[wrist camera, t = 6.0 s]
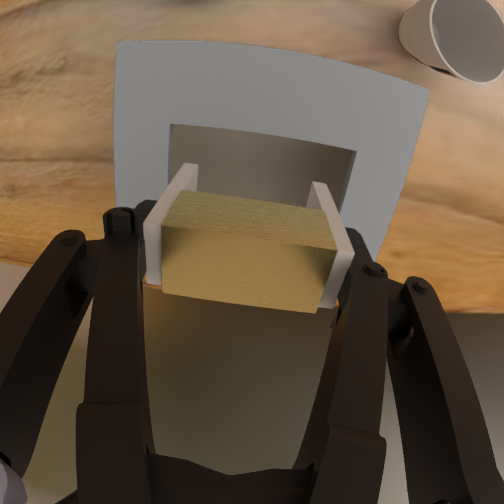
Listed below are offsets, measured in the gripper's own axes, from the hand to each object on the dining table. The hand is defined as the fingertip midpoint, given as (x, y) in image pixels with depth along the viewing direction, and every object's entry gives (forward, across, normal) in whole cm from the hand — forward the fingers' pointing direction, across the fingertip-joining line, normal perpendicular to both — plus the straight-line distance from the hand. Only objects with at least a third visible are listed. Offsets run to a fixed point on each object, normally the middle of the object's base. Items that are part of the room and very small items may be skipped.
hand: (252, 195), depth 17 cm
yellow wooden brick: (-4, 0, 0) cm, 4 cm away
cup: (+16, +14, +14) cm, 26 cm away
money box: (+16, 0, 0) cm, 16 cm away
